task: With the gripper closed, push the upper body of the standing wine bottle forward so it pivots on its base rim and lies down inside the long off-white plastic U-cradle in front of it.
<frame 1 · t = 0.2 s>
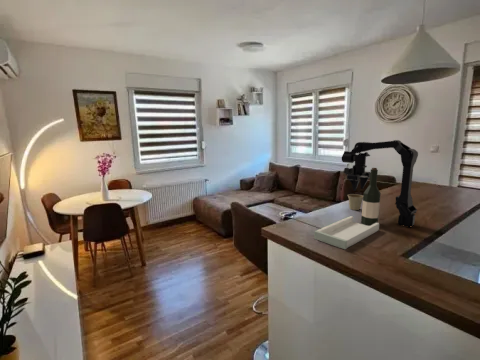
hand: (358, 189, 159), 14 cm above the counter, tool pointing down, fingers open, 9 cm apart
wine bottle: (369, 223, 144), on the counter
cradle: (349, 233, 130), on the counter
flower pot: (354, 209, 170), on the counter
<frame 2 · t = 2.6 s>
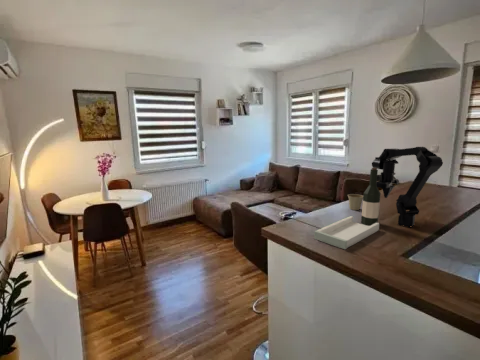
hand: (385, 197, 154), 11 cm above the counter, tool pointing down, fingers closed
nothing on the counter moved.
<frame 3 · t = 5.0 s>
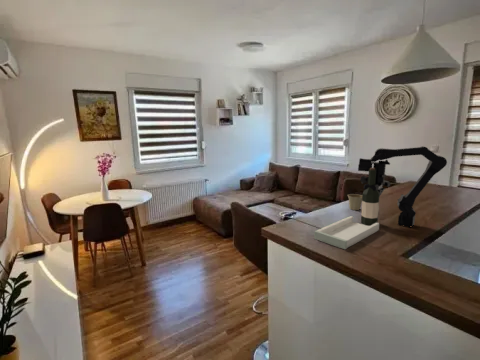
hand: (375, 200, 146), 12 cm above the counter, tool pointing down, fingers closed
wine bottle: (369, 223, 144), on the counter, touching gripper
everything else where it was.
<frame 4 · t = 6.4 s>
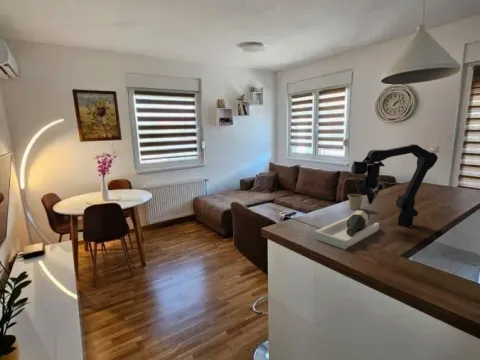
hand: (370, 203, 141), 11 cm above the counter, tool pointing down, fingers closed
wine bottle: (361, 215, 142), point 5 cm above the counter, touching cradle
everything else where it was.
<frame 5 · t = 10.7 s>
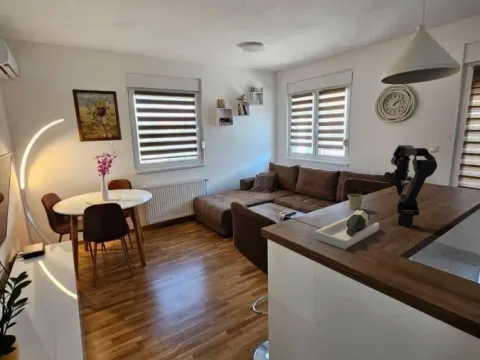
hand: (399, 195, 151), 13 cm above the counter, tool pointing down, fingers closed
nothing on the counter moved.
at the end: wine bottle tilted 89°; wine bottle touching cradle; wine bottle inside the target area (2.4 cm from its centre), point 4.8 cm above the counter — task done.
